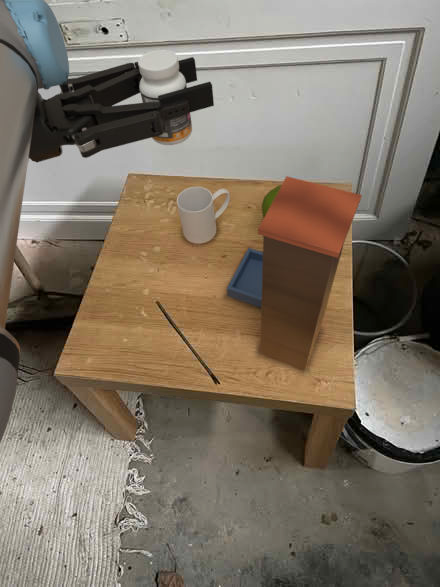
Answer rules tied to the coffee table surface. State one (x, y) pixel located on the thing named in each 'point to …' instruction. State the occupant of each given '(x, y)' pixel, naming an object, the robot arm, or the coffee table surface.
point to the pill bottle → (164, 91)
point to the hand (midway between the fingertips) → (202, 81)
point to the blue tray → (248, 279)
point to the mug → (199, 213)
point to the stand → (300, 265)
